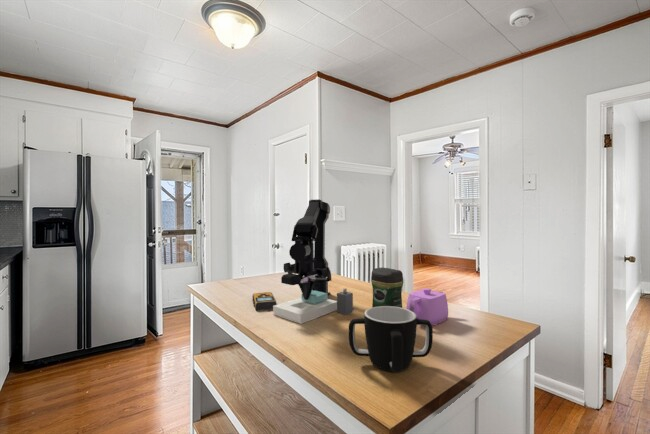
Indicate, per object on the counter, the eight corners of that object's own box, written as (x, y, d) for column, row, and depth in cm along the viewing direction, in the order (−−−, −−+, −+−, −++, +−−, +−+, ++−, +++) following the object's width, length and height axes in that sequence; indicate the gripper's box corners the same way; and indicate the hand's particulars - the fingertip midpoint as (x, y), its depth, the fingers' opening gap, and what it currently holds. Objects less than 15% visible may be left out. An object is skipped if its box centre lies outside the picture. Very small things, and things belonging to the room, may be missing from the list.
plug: (344, 310, 115) (344, 286, 114) (352, 312, 112) (352, 288, 112) (337, 312, 112) (337, 288, 111) (345, 315, 109) (345, 290, 109)
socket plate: (310, 302, 124) (310, 294, 124) (338, 309, 115) (338, 301, 115) (273, 314, 110) (273, 305, 110) (300, 323, 101) (300, 314, 101)
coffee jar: (408, 329, 95) (408, 268, 95) (391, 336, 91) (391, 272, 90) (383, 320, 103) (383, 264, 103) (367, 326, 98) (366, 267, 98)
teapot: (429, 309, 114) (429, 281, 114) (456, 317, 106) (456, 287, 106) (398, 321, 103) (398, 290, 103) (426, 330, 95) (426, 296, 95)
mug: (440, 367, 73) (440, 315, 72) (392, 390, 63) (392, 331, 63) (388, 343, 86) (388, 299, 86) (342, 359, 77) (342, 311, 76)
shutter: (314, 296, 121) (314, 288, 121) (327, 299, 116) (327, 291, 116) (301, 300, 116) (301, 292, 116) (314, 304, 111) (314, 295, 111)
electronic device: (272, 298, 132) (272, 290, 132) (277, 309, 117) (277, 300, 117) (251, 300, 130) (251, 292, 130) (254, 311, 115) (254, 302, 115)
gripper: (308, 251, 125) (308, 290, 125) (270, 257, 111) (271, 301, 111) (329, 254, 117) (329, 295, 117) (292, 260, 103) (292, 307, 104)
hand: (306, 299), depth 113 cm, fingers closed
